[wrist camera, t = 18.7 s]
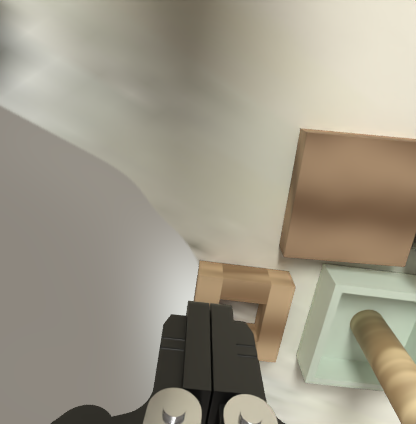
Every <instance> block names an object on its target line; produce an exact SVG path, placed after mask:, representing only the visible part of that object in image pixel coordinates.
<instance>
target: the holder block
mask: <svg viewBox="0 0 416 424" xmlns="http://www.w3.org/2000/svg"><path fill="white" fill-rule="evenodd" d="M294 291H295V285H294V282H293V280H292V277H291V275H290V273H289V271H281V270H273V269H265V268H256V267H248V266H240V265H232V264H224V263H216V262H208V261H200V262H199V269H198V275H197V282H196V289H195V296H194V301H195V302H205V303H209V306H210V303H215V304H219V300H220V299H223V300H232V301H240V302H249V303H257V304H259V306H258V310H257V315H256V319H255V323H254V324H252V323H247V325H248V326H249V328H250V329H251V331H252V332H253V333H254V339H255V344H256V350H257V355H258V360H259V361H267V362H276V359H277V355H278V351H279V348H280V344H281V340H282V336H283V333H284V329H285V325H286V321H287V317H288V314H289V310H290V306H291V302H292V299H293V295H294Z"/></svg>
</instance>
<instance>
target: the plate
mask: <svg viewBox="0 0 416 424" xmlns="http://www.w3.org/2000/svg"><path fill="white" fill-rule="evenodd" d="M415 234H416V139H409V138H398V137H387V136H376V135H366V134H355V133H344V132H333V131H322V130H312V129H301V128H300V134H299V140H298V145H297V151H296V156H295V162H294V167H293V173H292V178H291V184H290V189H289V195H288V200H287V206H286V211H285V217H284V222H283V228H282V233H281V239H280V244H279V247H280V249H281V251H282V254H283V256H284V257H289V258H301V259H314V260H326V261H338V262H350V263H363V264H375V265H387V266H400V267H405V264H406V261H407V258H408V255H409V252H410V249H411V246H412V243H413V240H414V237H415Z"/></svg>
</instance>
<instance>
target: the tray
mask: <svg viewBox="0 0 416 424" xmlns="http://www.w3.org/2000/svg"><path fill="white" fill-rule="evenodd" d="M363 310H374V311H377V312H378V313H380V314H381V316H382V317H383V319H384V320H385V321H386V323H387V324H388V326H389V327H390V328H391V330H392V331H393V333H394V334H395V336H396V337H397V338H398V340H399V341H400V343H401V344H402V346H403V347H404V348H405V350H406V351H407V353H408V354H409V356H410V357H411V358H412V360H413V361H414V363H415V364H416V275H411V274H403V273H395V272H387V271H379V270H371V269H363V268H355V267H347V266H339V265H331V264H323V266H322V269H321V273H320V276H319V280H318V283H317V287H316V290H315V293H314V297H313V300H312V304H311V307H310V311H309V314H308V317H307V321H306V324H305V328H304V331H303V335H302V338H301V341H300V345H299V348H298V352H297V355H296V356H297V359H298V362H299V366H300V369H301V372H302V375H303V378H304V381H305V383H311V384H320V385H330V386H339V387H348V388H358V389H367V390H376V391H384V390H383V388H382V386H381V385H380V383H379V381H378V379H377V377H376V375H375V373H374V371H373V370H372V368H371V366H370V364H369V362H368V360H367V358H366V357H365V355H364V353H363V351H362V349H361V347H360V345H359V344H358V342H357V340H356V338H355V336H354V334H353V332H352V330H351V328H350V321H351V319H352V317H353V316H354V315H355V314H356V313H358V312H360V311H363Z"/></svg>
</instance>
